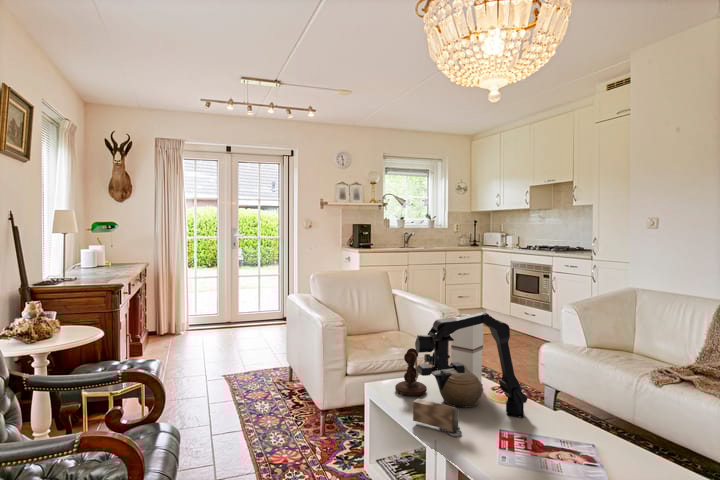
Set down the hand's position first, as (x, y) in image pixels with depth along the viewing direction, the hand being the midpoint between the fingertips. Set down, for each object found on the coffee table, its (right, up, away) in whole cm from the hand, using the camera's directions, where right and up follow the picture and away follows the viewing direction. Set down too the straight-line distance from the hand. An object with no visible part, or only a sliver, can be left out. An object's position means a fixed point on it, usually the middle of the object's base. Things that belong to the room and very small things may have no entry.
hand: (440, 389), depth 176 cm
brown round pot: (+12, -12, +18) cm, 25 cm away
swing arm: (-3, -10, -8) cm, 14 cm away
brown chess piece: (-8, -12, +31) cm, 34 cm away
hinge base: (+3, -12, -12) cm, 18 cm away
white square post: (+19, -12, +36) cm, 42 cm away
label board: (0, -12, -1) cm, 12 cm away
